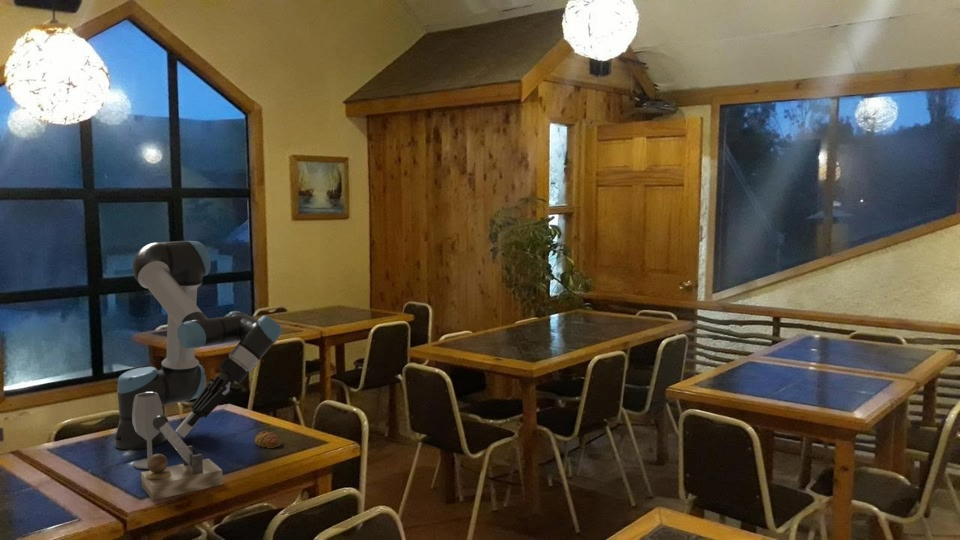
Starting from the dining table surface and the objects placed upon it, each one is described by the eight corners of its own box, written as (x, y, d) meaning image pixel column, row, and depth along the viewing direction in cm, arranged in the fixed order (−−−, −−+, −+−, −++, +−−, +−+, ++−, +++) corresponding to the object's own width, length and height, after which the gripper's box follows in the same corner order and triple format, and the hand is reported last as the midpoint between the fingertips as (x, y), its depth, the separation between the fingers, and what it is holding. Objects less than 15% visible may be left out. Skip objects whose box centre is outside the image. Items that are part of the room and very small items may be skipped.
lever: (192, 473, 205) (152, 425, 199) (185, 465, 211) (146, 419, 204) (204, 462, 207) (165, 415, 200) (197, 455, 213) (159, 409, 206)
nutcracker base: (152, 500, 197) (150, 462, 197) (141, 486, 207) (139, 450, 206) (222, 484, 208) (221, 448, 207) (209, 472, 218) (207, 437, 217)
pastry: (287, 445, 241) (286, 434, 241) (268, 451, 236) (268, 439, 236) (270, 440, 248) (269, 428, 247) (251, 445, 242) (251, 433, 242)
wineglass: (146, 471, 219) (142, 399, 217) (127, 466, 223) (123, 395, 221) (172, 462, 226) (169, 393, 224) (154, 457, 231) (150, 389, 229)
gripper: (256, 376, 211) (197, 448, 203) (240, 368, 222) (183, 436, 213) (236, 360, 208) (175, 432, 199) (220, 353, 218) (162, 421, 210)
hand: (179, 434), depth 206 cm, fingers closed
